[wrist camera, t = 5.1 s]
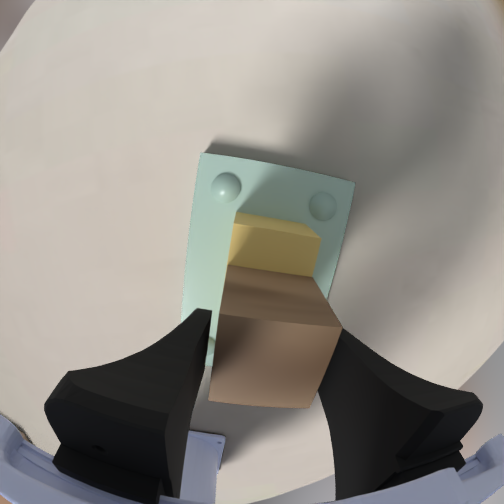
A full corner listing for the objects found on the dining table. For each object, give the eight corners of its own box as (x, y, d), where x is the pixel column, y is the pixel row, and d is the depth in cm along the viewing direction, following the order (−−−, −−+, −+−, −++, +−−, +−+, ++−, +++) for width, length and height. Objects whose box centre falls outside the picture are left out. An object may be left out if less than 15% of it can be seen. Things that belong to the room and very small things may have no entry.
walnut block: (293, 346, 14) (309, 408, 9) (217, 337, 14) (208, 400, 9) (312, 277, 13) (342, 327, 8) (227, 264, 12) (219, 313, 8)
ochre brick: (276, 340, 18) (283, 375, 14) (217, 333, 17) (212, 366, 14) (305, 223, 16) (321, 238, 12) (236, 211, 15) (233, 223, 12)
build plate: (298, 367, 20) (301, 376, 19) (181, 352, 19) (178, 361, 18) (349, 181, 16) (356, 182, 15) (203, 153, 15) (200, 152, 14)
